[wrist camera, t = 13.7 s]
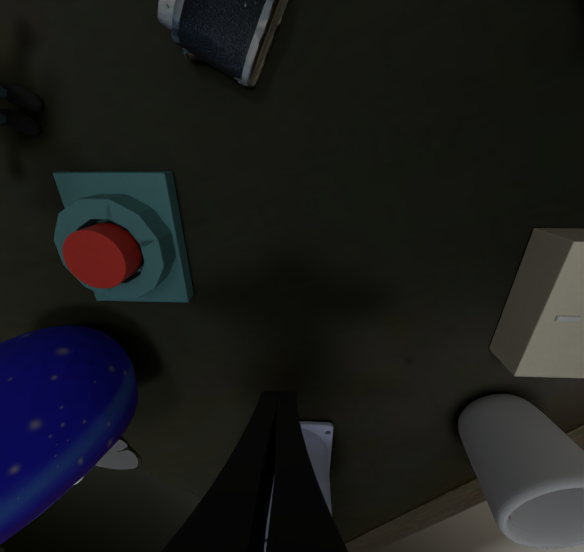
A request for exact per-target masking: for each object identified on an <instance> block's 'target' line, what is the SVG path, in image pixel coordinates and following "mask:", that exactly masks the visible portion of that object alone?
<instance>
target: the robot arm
mask: <svg viewBox="0 0 584 552" xmlns="http://www.w3.org/2000/svg"><path fill="white" fill-rule="evenodd" d="M332 438H333V424H332V423H330V422H311V421H300V420H299V416H298V410H297V401H296V393H295V392H289V391H263V392H262V393H261V395H260V398H259V401H258V403H257V406H256V408H255V410H254V413H253V415H252V417H251V419H250V421H249V423H248V425H247V427H246V429H245V431H244V433H243V435H242V437H241V438H240V440H239V442H238V444H237V446H236V447H235V449H234V451H233V452H232V454H231V456H230V458H229V459H228V461H227V463H226V464H225V466H224V467H223V469H222V471H221V472H220V474H219V475H218V477H217V478H216V480H215V481H214V483H213V484H212V486H211V487H210V489H209V490H208V492H207V493H206V494H205V496H204V497H203V499H202V500H201V501H200V503H199V504H198V505H197V507H196V508H195V510H194V511H193V512H192V514H191V515H190V516H189V518H188V519H187V520H186V522H185V523H184V524H183V526H182V527H181V528H180V529H179V531H177V533H176V534H175V535H174V536H173V538H172V539H171V540H170V541H169V542H168V544H167V545H166V546H165V547H164V549H163V550H162V551H161V552H348V550H347V548H346V546H345V544H344V542H343V540H342V537H341V535H340V533H339V531H338V529H337V527H336V525H335V522H334V520H333V518H332V509H331V495H330V482H329V472H330V460H331V449H332Z"/></svg>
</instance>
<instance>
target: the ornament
mask: <svg viewBox="0 0 584 552" xmlns="http://www.w3.org/2000/svg"><path fill="white" fill-rule="evenodd" d="M137 403H138V393H137V381H136V376H135V372H134V368H133V364H132V362H131V360H130V358H129V357H128V355H127V353H126V352H125V350H124V349H123V347H122V346H121V345H120V344H119V343H118V342H117V341H116V340H115V339H114V338H112V337H111V336H109V335H107V334H106V333H104V332H102V331H99V330H96V329H93V328H89V327H85V326H74V325H65V326H56V327H48V328H44V329H40V330H36V331H32V332H28V333H25V334H22V335H20V336H17V337H14V338H12V339H9V340H7V341H4V342H2V343H0V544H1V543H3V542H4V541H5V540H7V539H8V538H10V537H11V536H12V535H14V534H15V533H17V532H18V531H19V530H21V529H22V528H23V527H25V525H27V524H29V523H30V522H31V521H32V520H34V519H35V518H36V517H38V516H39V515H40V514H41V513H43V512H44V511H45V510H47V509H48V508H49V507H50V506H51V505H52V504H53V503H54V502H55V501H57V500H58V499H59V498H60V497H61V496H62V495H63V494H64V493H65V492H66V491H68V490H69V489H70V488H71V487H72V486H73V485H74V484H75V483H76V482H78V481H79V480H80V479H81V478H82V477H83V476H84V475H85V474H86V473H87V472H89V471H90V470H91V469H92V468H93V467H94V466H95V465H96V464H97V463H98V461H99V460H100V459H101V458H102V457H103V456H104V455H105V454H106V453H107V452H108V451H109V450H110V449H111V448H112V447H113V445H114V444H115V443H116V442H117V441H118V440H119V438H120V437H121V436H122V434H123V433H124V431H125V430H126V428H127V427H128V425H129V423H130V421H131V420H132V418H133V416H134V414H135V410H136V407H137Z"/></svg>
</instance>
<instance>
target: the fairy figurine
mask: <svg viewBox="0 0 584 552" xmlns="http://www.w3.org/2000/svg"><path fill="white" fill-rule="evenodd" d="M125 443H126V442H123V441H122V440H118V441H117V442H116V443H115V444H114V445H113V447H112V448H111V449H110V450H109V451H108V452H107V453H106V454H105V455H104V456H103V457H102V458H101V459H100V460H99V461H98V463H97V464H96V466H100V467H105V468H111V469H133V468H135V467H137V466H138V460H137V458H136V456H135V454H134V453H132V452H131V451H121V450H123V449H125V448H126V447H128V446H127V444H125ZM118 451H121V452H118ZM83 477H84V476H83ZM83 477H82V478H81V479H80V480H79V481H78V482H76V483H75V484H77V483H79V482H80V481H81V480H82V479H83ZM75 484H74V485H75Z"/></svg>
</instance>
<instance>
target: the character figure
mask: <svg viewBox="0 0 584 552" xmlns="http://www.w3.org/2000/svg"><path fill="white" fill-rule="evenodd" d="M1 98H2V99H6V100H8V101H10V102H12V103H14V104H16V105H18V106H20V107H22V108H25V109H27V110H30V111H35V112H38V111H41V110H42V109H43V103H42V101H41V99H40V98H39V97H38V96H37V95H35V94H34V93H32V92H31V91H29V90H27V89H25V88H23V87H21V86H18V85H15V84H9V83H4V82H0V99H1ZM0 125H7V126H9V127H11V128H13V129H15V130H18V131H20V132H23V133H26V134H29V135H37V134H39V133H40V126H39V124H38V123H37V122H36V121H35V120H34V119H32V118H30V117H29V116H27V115H25V114H23V113H21V112H19V111H16V110H12V109H0Z"/></svg>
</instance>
